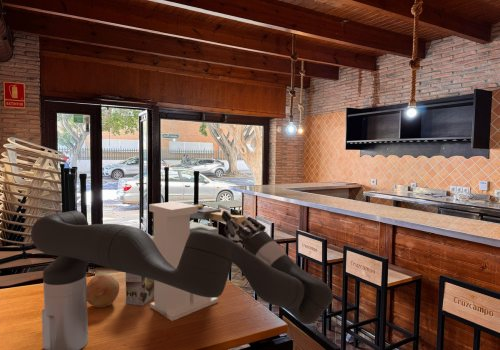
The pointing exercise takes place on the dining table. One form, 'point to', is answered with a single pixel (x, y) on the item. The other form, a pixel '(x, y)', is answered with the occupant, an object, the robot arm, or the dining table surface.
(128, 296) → the coffee box
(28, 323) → the dining table surface
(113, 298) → the onion
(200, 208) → the wooden handled tool
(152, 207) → the stepped stand
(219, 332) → the dining table surface
